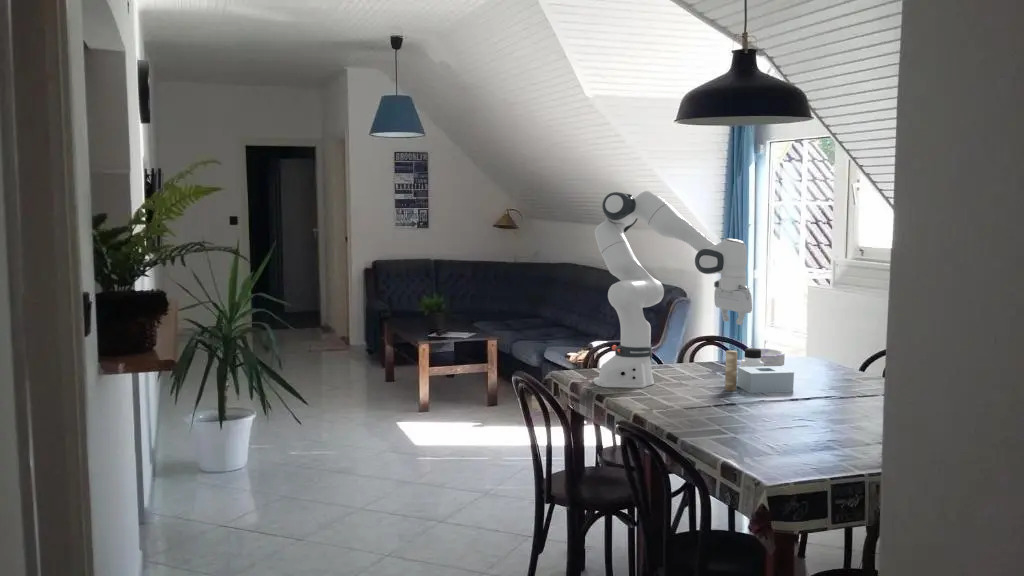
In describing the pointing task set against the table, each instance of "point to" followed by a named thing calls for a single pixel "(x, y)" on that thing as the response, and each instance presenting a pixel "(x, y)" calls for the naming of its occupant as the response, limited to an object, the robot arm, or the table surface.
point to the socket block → (765, 379)
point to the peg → (731, 371)
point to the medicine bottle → (752, 358)
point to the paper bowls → (772, 357)
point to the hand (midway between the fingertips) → (732, 322)
